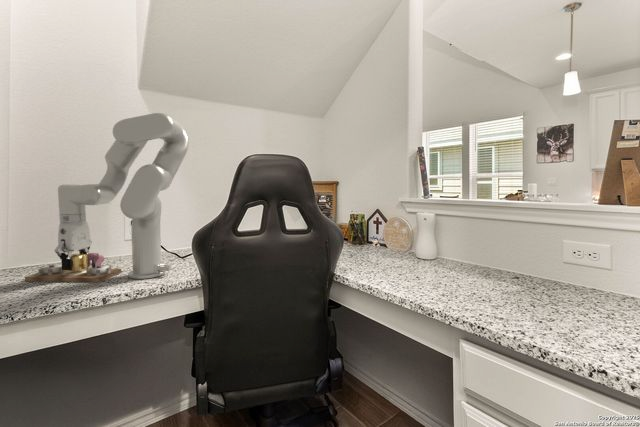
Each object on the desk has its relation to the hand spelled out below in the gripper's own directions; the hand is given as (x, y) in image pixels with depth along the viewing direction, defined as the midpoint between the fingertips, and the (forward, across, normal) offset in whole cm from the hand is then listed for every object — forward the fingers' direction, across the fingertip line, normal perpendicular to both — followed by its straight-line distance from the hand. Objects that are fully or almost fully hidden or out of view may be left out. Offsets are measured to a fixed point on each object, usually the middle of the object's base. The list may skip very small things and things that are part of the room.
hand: (75, 266), depth 116 cm
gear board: (+4, 0, 0) cm, 4 cm away
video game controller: (+4, +13, +4) cm, 14 cm away
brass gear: (+1, 0, 0) cm, 1 cm away
